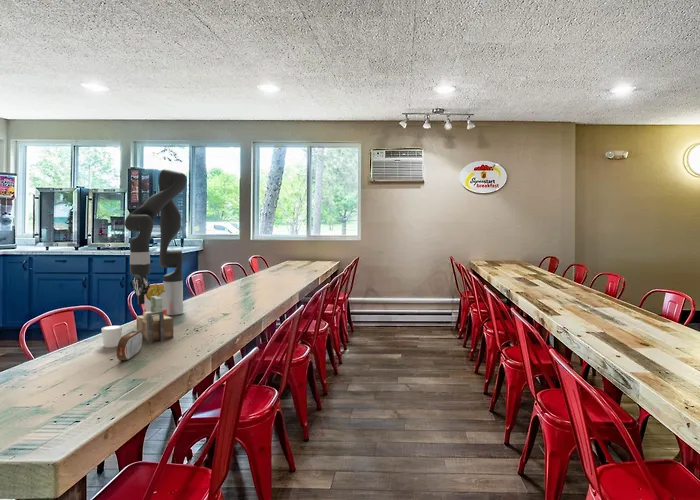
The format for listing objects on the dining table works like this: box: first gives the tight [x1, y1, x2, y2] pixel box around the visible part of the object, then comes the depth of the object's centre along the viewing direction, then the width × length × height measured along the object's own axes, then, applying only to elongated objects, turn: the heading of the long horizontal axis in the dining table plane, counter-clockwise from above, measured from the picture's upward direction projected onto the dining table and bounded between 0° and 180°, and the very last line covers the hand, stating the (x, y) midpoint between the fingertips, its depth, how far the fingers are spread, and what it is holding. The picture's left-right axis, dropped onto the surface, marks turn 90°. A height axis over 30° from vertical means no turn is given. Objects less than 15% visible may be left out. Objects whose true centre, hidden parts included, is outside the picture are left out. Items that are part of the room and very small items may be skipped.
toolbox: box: [136, 311, 174, 345], centre depth 164 cm, size 16×10×12 cm, turn 48°
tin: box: [116, 330, 144, 361], centre depth 141 cm, size 15×3×8 cm, turn 5°
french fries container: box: [143, 283, 168, 316], centre depth 188 cm, size 5×11×18 cm, turn 60°
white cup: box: [100, 324, 123, 348], centre depth 153 cm, size 7×7×7 cm
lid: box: [136, 296, 172, 323], centre depth 165 cm, size 12×9×9 cm
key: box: [142, 311, 159, 322], centre depth 160 cm, size 10×2×2 cm, turn 48°
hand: (141, 304), depth 167 cm, fingers closed
